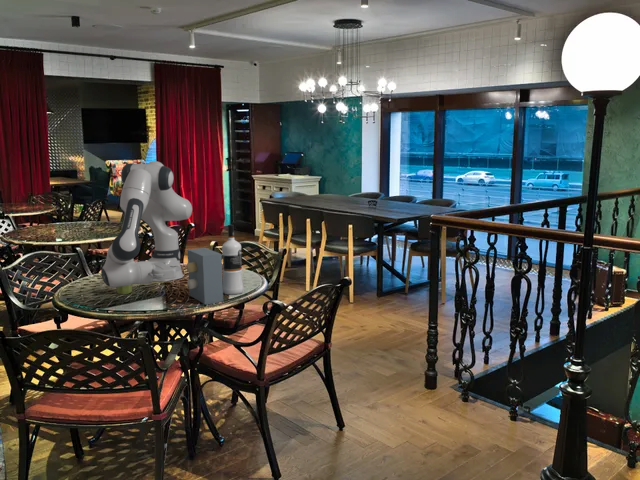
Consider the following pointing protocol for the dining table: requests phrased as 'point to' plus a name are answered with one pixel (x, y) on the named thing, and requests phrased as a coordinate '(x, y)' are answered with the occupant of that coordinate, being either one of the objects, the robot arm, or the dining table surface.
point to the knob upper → (192, 267)
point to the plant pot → (124, 289)
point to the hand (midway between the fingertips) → (179, 268)
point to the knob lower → (192, 283)
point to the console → (206, 275)
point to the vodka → (232, 265)
